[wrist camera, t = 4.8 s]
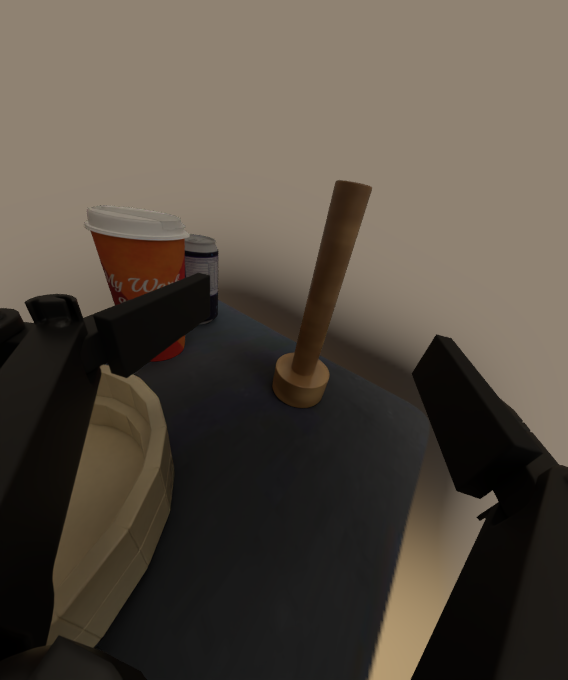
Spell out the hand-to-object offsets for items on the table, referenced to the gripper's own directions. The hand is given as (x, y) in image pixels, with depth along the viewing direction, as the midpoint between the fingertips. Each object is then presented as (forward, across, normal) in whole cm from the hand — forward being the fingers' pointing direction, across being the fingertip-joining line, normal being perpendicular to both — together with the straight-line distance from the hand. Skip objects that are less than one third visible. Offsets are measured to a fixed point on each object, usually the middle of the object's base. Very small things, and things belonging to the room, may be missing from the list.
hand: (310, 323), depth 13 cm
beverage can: (+17, -18, -13) cm, 28 cm away
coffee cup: (+8, -18, -13) cm, 23 cm away
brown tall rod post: (+8, 0, -12) cm, 15 cm away
